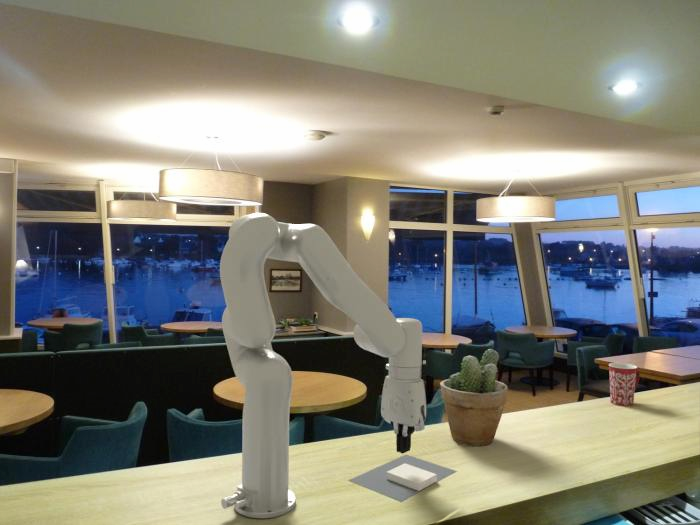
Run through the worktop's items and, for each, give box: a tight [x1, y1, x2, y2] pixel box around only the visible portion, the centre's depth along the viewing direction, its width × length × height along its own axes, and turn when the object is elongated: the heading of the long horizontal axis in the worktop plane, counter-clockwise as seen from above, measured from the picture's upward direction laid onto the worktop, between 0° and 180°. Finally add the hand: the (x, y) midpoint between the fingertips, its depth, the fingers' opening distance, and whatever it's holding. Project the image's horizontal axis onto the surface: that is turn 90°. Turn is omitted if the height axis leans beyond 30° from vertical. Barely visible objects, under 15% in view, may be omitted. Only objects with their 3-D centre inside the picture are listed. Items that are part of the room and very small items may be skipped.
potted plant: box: [439, 348, 509, 447], centre depth 153 cm, size 18×19×25 cm
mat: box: [348, 454, 457, 503], centre depth 127 cm, size 22×15×1 cm
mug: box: [608, 362, 640, 407], centre depth 193 cm, size 13×9×14 cm
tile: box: [386, 463, 437, 492], centre depth 124 cm, size 7×2×9 cm
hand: (403, 451), depth 126 cm, fingers closed
